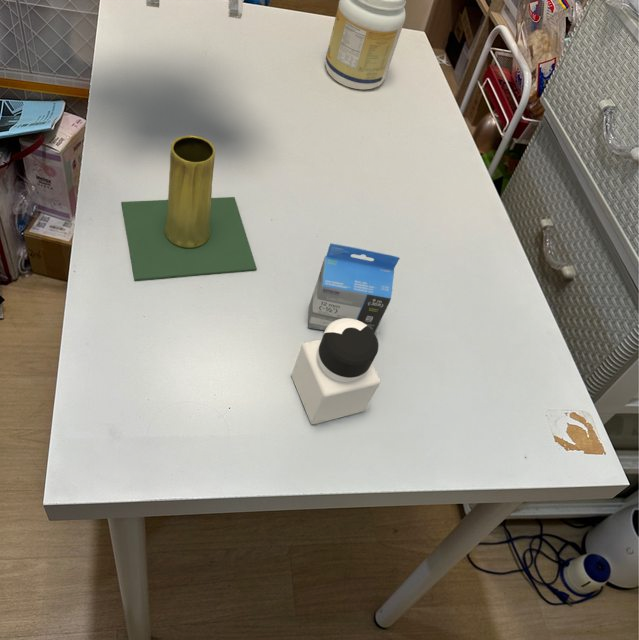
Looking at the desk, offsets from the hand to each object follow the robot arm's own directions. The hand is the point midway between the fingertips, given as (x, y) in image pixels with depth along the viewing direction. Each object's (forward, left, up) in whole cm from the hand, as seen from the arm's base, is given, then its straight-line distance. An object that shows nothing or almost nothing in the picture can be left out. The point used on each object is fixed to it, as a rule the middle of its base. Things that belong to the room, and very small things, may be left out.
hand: (194, 11), depth 71 cm
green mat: (-2, -12, -25) cm, 28 cm away
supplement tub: (+37, +28, -25) cm, 53 cm away
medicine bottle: (+10, -39, -25) cm, 48 cm away
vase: (-2, -12, -25) cm, 27 cm away
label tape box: (+15, -29, -25) cm, 41 cm away
